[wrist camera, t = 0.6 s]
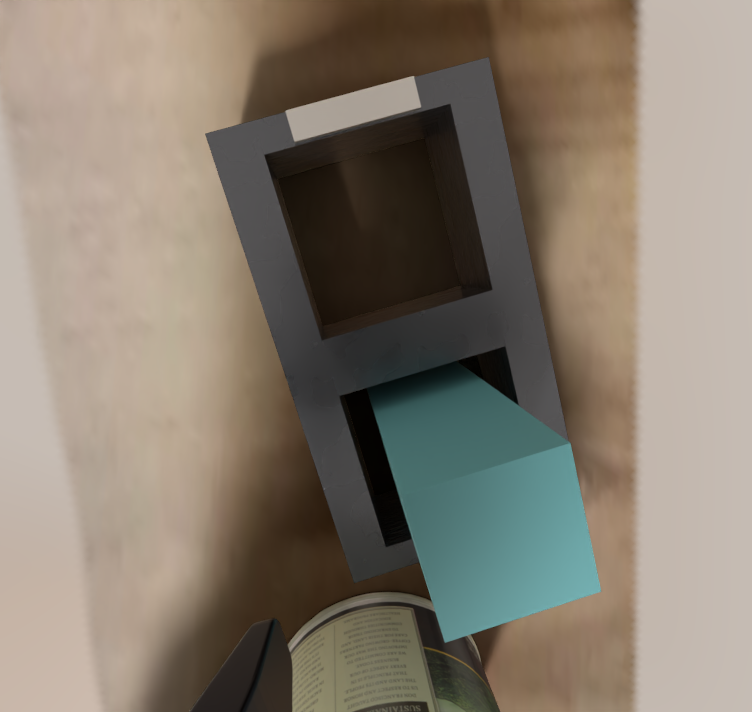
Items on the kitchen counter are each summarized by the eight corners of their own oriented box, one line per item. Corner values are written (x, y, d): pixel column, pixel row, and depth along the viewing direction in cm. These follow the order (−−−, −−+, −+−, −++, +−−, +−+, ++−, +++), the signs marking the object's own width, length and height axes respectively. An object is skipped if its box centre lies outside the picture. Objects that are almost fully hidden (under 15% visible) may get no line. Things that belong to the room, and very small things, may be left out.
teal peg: (475, 443, 21) (601, 591, 12) (390, 469, 21) (444, 642, 11) (454, 359, 20) (570, 443, 11) (365, 386, 20) (401, 495, 11)
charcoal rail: (536, 466, 22) (586, 513, 18) (349, 525, 21) (354, 588, 17) (454, 101, 19) (491, 52, 14) (231, 162, 18) (202, 130, 14)
